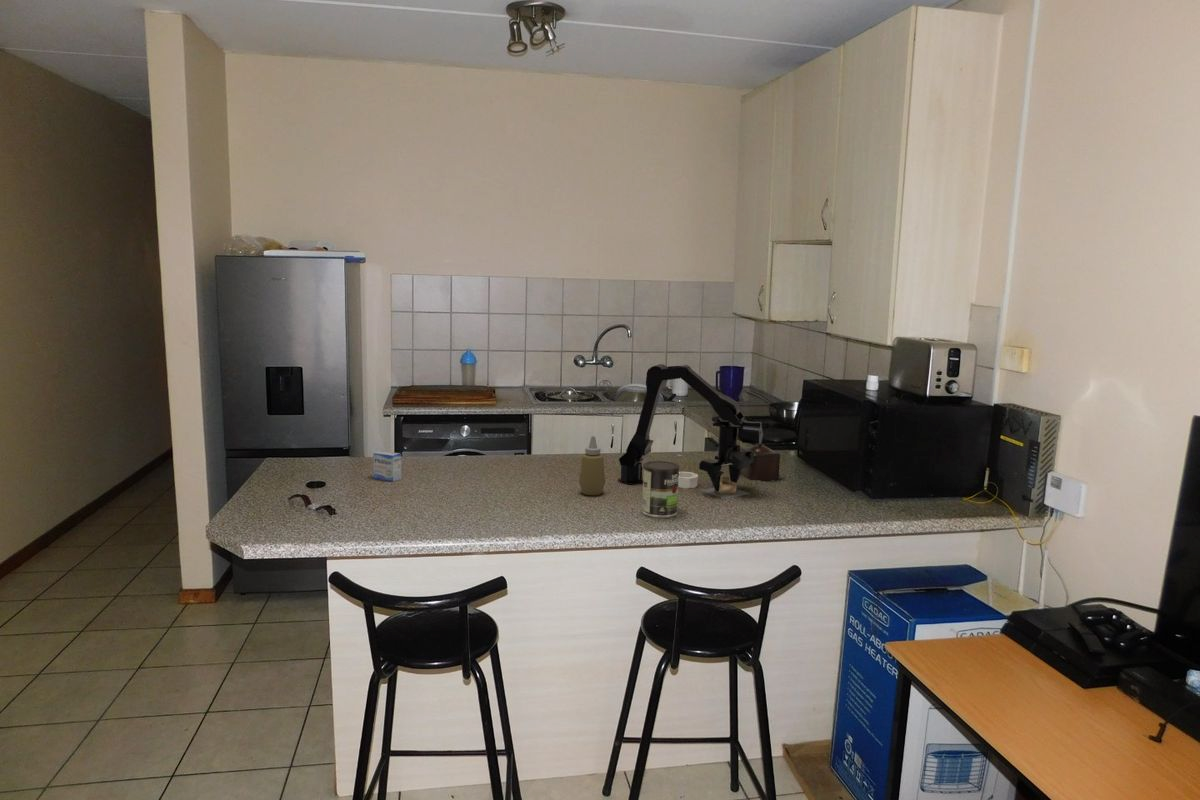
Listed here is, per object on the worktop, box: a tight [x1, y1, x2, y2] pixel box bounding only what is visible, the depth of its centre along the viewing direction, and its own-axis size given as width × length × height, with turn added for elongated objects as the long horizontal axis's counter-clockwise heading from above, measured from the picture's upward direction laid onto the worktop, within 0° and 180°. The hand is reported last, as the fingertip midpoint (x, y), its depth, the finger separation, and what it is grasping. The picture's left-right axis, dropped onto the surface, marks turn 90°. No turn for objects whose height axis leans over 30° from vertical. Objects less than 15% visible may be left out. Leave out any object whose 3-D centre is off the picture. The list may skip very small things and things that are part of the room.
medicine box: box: [372, 450, 402, 482], centre depth 257 cm, size 8×4×9 cm, turn 68°
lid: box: [713, 476, 737, 495], centre depth 249 cm, size 7×7×5 cm
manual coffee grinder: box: [737, 428, 781, 482], centre depth 269 cm, size 16×11×18 cm
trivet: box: [699, 487, 751, 500], centre depth 250 cm, size 11×11×1 cm
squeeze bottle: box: [578, 435, 606, 496], centre depth 245 cm, size 8×8×18 cm
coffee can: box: [641, 460, 680, 519], centre depth 228 cm, size 10×10×14 cm
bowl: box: [678, 471, 699, 489], centre depth 257 cm, size 8×8×4 cm
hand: (725, 489), depth 250 cm, fingers closed on lid, 7 cm apart
